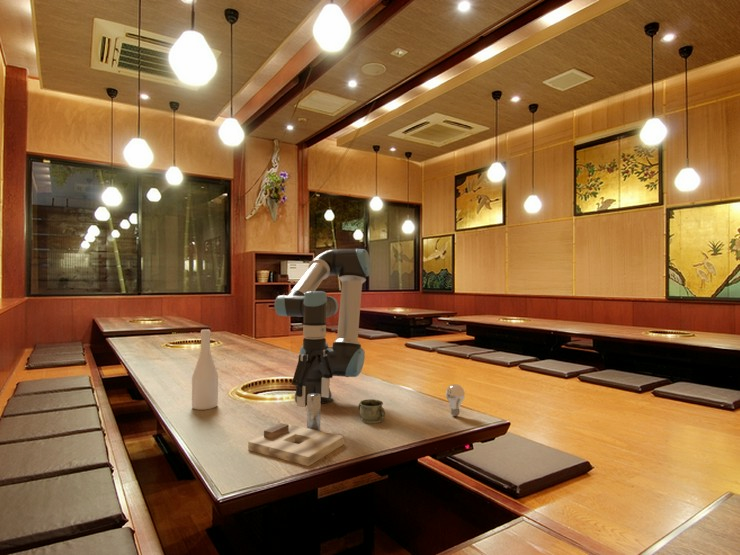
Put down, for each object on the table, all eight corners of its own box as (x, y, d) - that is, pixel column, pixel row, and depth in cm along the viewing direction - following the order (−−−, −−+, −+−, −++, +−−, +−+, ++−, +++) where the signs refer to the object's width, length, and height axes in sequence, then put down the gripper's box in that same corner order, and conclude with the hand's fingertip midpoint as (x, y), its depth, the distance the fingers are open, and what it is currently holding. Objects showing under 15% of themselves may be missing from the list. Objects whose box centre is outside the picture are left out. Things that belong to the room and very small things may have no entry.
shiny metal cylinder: (304, 431, 148) (304, 395, 148) (312, 427, 152) (312, 392, 151) (315, 434, 146) (315, 397, 145) (322, 430, 149) (323, 394, 149)
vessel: (350, 419, 161) (350, 402, 161) (365, 413, 168) (365, 396, 168) (377, 426, 154) (378, 408, 154) (391, 420, 161) (392, 402, 161)
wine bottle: (187, 406, 173) (188, 329, 173) (210, 401, 180) (211, 327, 180) (198, 412, 167) (199, 332, 167) (222, 406, 174) (223, 330, 174)
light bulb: (453, 420, 161) (453, 387, 161) (441, 415, 167) (442, 383, 167) (468, 417, 164) (468, 385, 164) (456, 412, 170) (456, 381, 170)
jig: (248, 450, 132) (248, 434, 132) (287, 431, 148) (287, 418, 148) (308, 466, 121) (308, 449, 121) (343, 444, 137) (343, 429, 137)
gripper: (300, 342, 136) (299, 412, 135) (344, 334, 157) (343, 394, 157) (281, 340, 139) (280, 408, 139) (326, 333, 161) (325, 392, 161)
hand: (313, 401), depth 148 cm, fingers open, 13 cm apart
